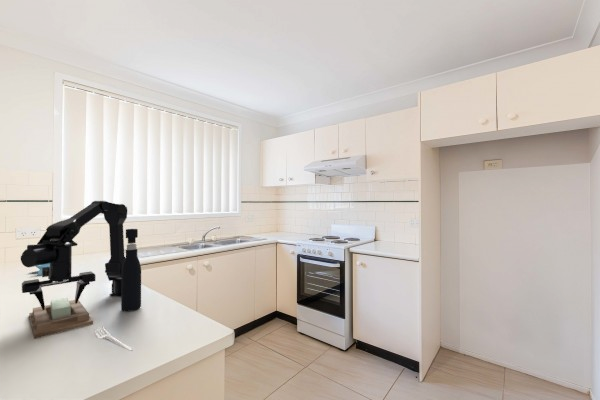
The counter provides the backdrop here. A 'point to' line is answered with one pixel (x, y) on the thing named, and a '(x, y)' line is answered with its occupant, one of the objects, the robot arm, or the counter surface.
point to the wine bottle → (131, 275)
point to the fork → (110, 337)
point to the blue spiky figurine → (42, 267)
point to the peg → (60, 308)
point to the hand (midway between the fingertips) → (60, 306)
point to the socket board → (58, 320)
